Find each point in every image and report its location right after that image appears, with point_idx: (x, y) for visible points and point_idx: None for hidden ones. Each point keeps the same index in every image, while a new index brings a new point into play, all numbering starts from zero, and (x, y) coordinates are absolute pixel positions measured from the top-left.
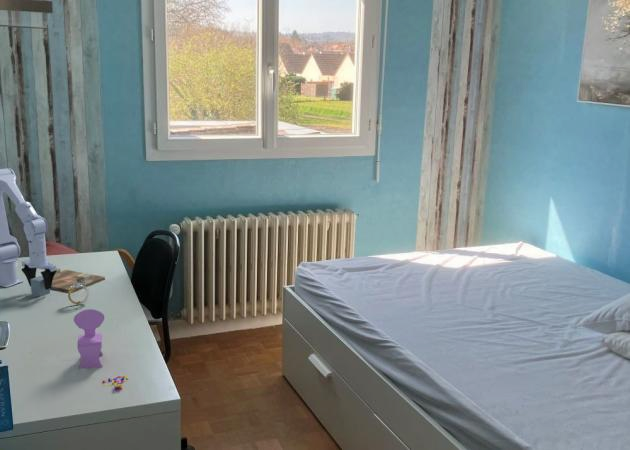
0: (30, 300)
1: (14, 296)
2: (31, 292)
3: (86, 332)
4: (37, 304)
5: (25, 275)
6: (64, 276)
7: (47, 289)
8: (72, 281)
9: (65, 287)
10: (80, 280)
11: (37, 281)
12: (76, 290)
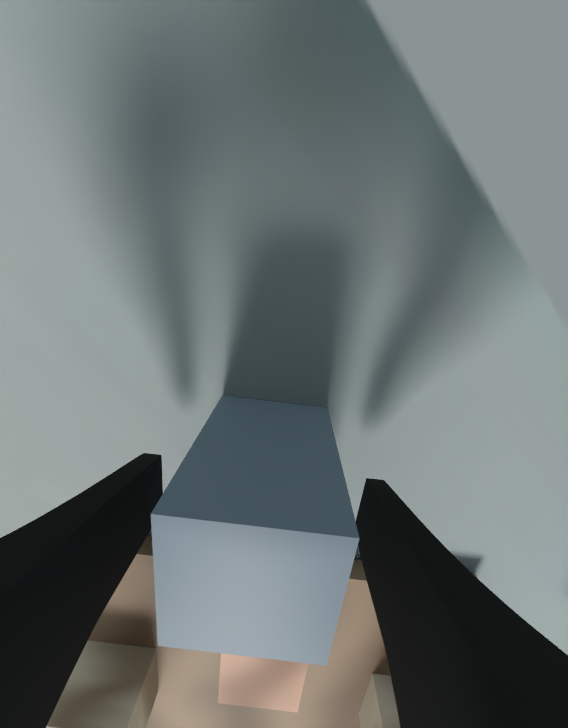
0: (232, 282)
1: (451, 319)
2: (329, 418)
3: None
4: (84, 209)
5: (515, 616)
6: (326, 711)
7: (139, 458)
8: (209, 664)
9: None
10: (105, 681)
11: (204, 506)
12: None
